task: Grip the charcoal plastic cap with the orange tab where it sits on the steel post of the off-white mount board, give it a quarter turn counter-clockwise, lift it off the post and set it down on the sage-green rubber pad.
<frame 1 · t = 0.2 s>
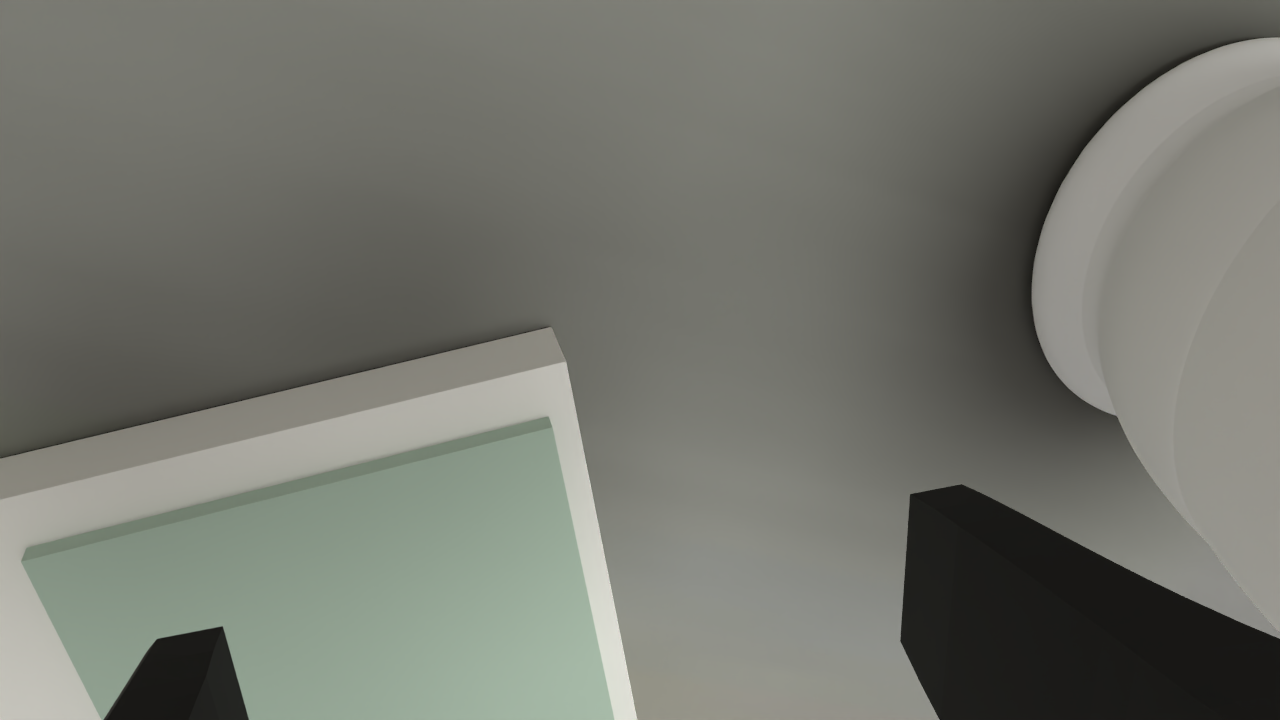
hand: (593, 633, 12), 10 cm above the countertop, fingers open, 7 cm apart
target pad: (363, 671, 22), resting on mount board
jar: (1197, 232, 24), on the countertop
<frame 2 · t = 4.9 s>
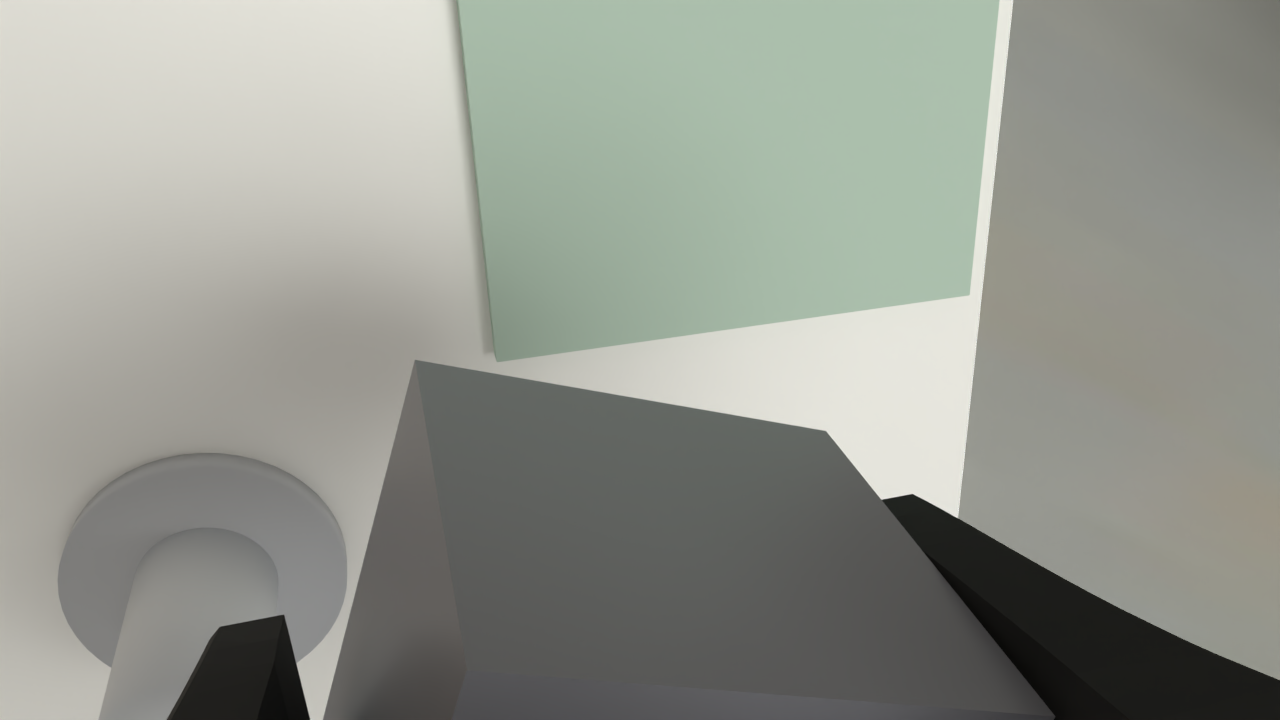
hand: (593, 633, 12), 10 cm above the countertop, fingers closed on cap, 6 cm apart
cap: (573, 578, 13), point 9 cm above the countertop, touching gripper
mount board: (454, 298, 21), on the countertop
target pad: (736, 73, 19), resting on mount board
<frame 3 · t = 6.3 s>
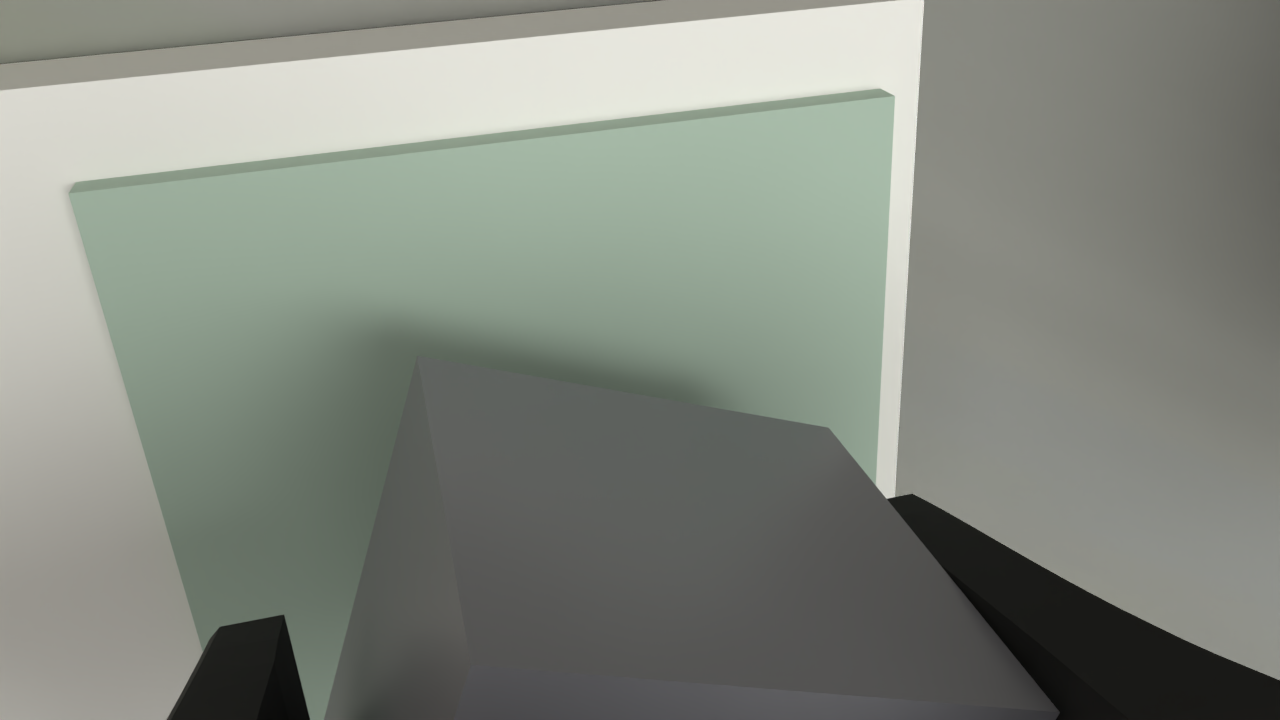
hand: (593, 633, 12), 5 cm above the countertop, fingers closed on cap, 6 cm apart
cap: (575, 575, 13), point 4 cm above the countertop, touching gripper
mount board: (218, 707, 17), on the countertop
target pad: (542, 473, 15), resting on mount board
when the fingers open (4 cm above the countertop, at t = 7.5 s): cap drops 1 cm, resting on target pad.
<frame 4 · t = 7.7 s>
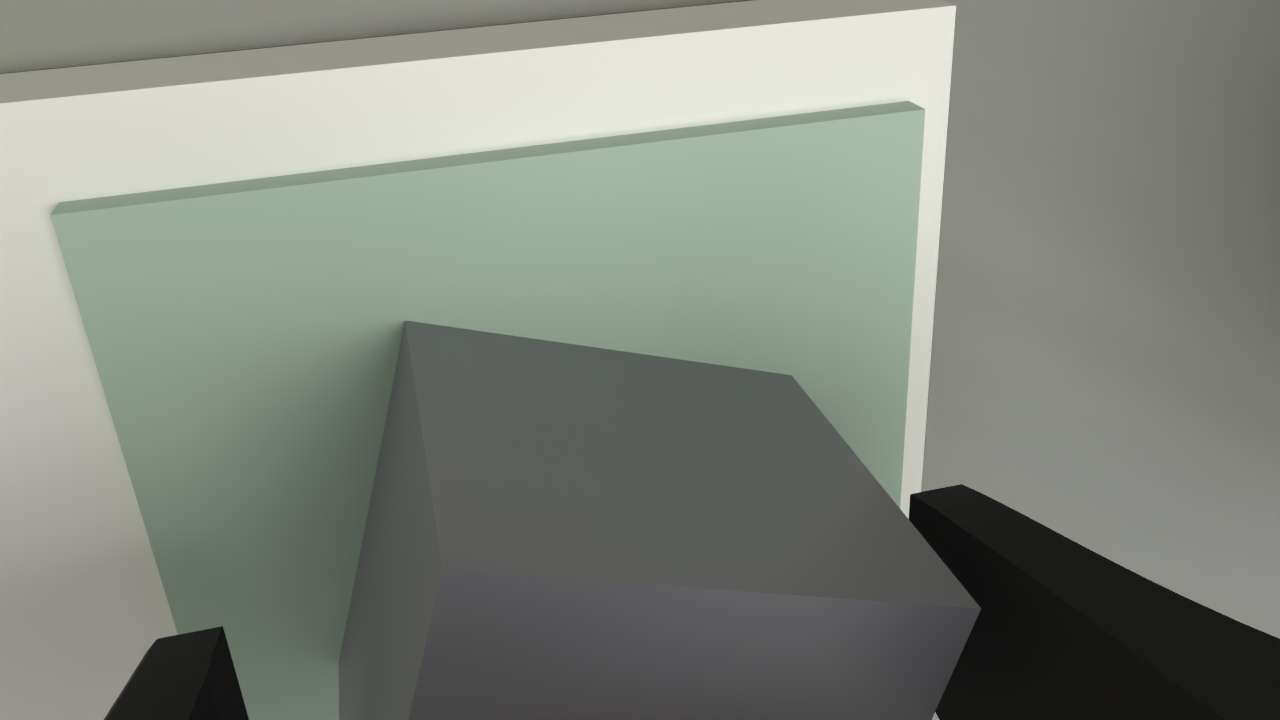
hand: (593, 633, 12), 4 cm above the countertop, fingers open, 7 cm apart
cap: (563, 520, 14), point 2 cm above the countertop, touching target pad
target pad: (552, 503, 14), resting on mount board
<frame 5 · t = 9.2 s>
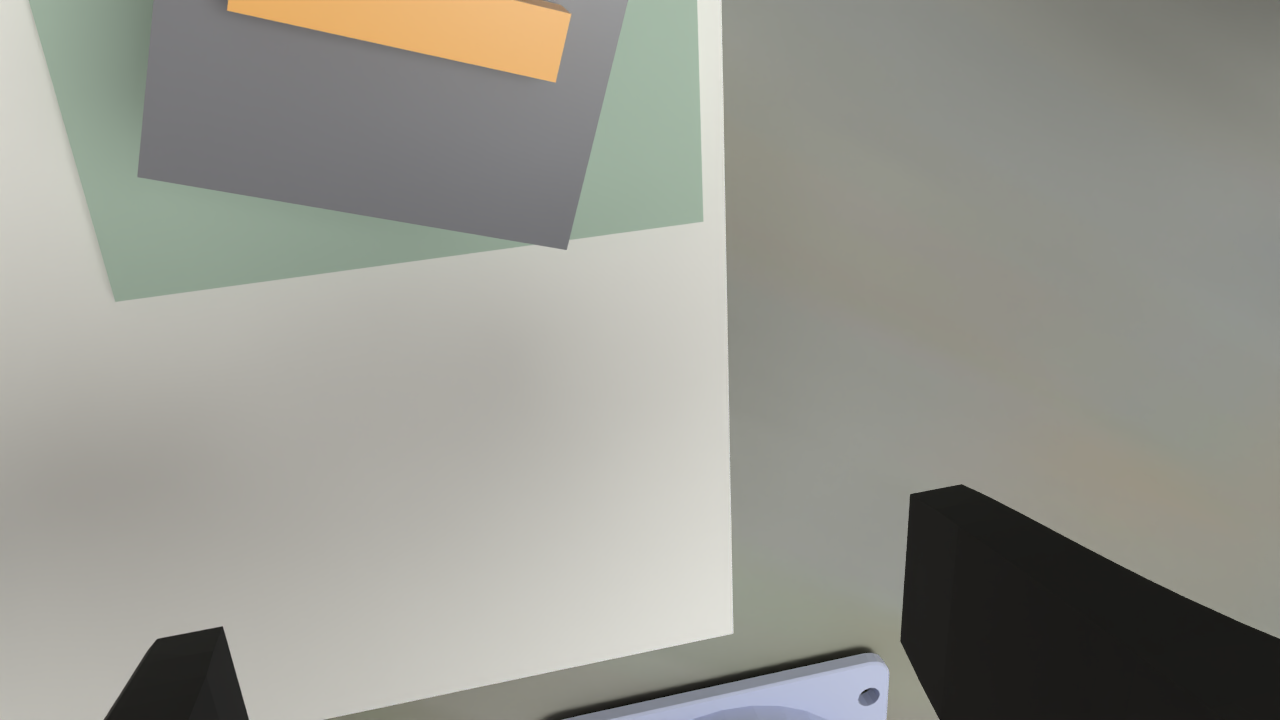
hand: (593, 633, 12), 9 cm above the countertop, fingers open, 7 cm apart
mount board: (93, 231, 18), on the countertop
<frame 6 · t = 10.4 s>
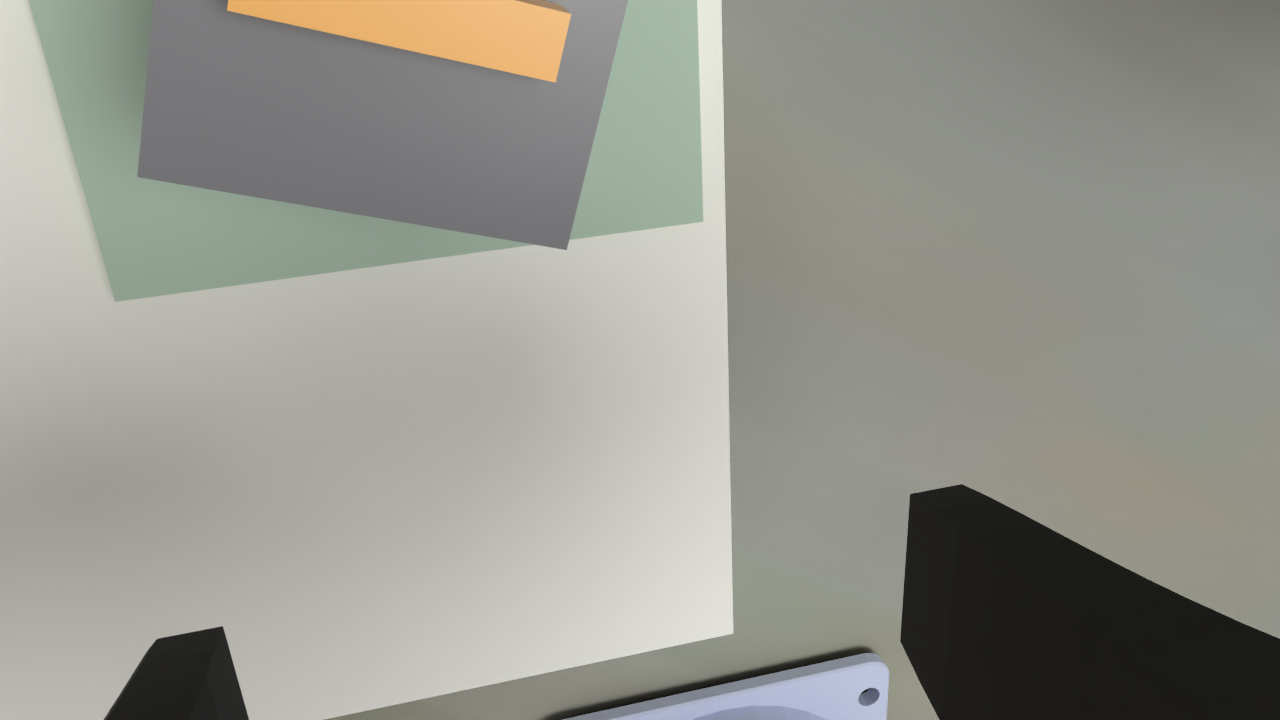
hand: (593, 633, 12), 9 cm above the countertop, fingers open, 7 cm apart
mount board: (93, 231, 18), on the countertop
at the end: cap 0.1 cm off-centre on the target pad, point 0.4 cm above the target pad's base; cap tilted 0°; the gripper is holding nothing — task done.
